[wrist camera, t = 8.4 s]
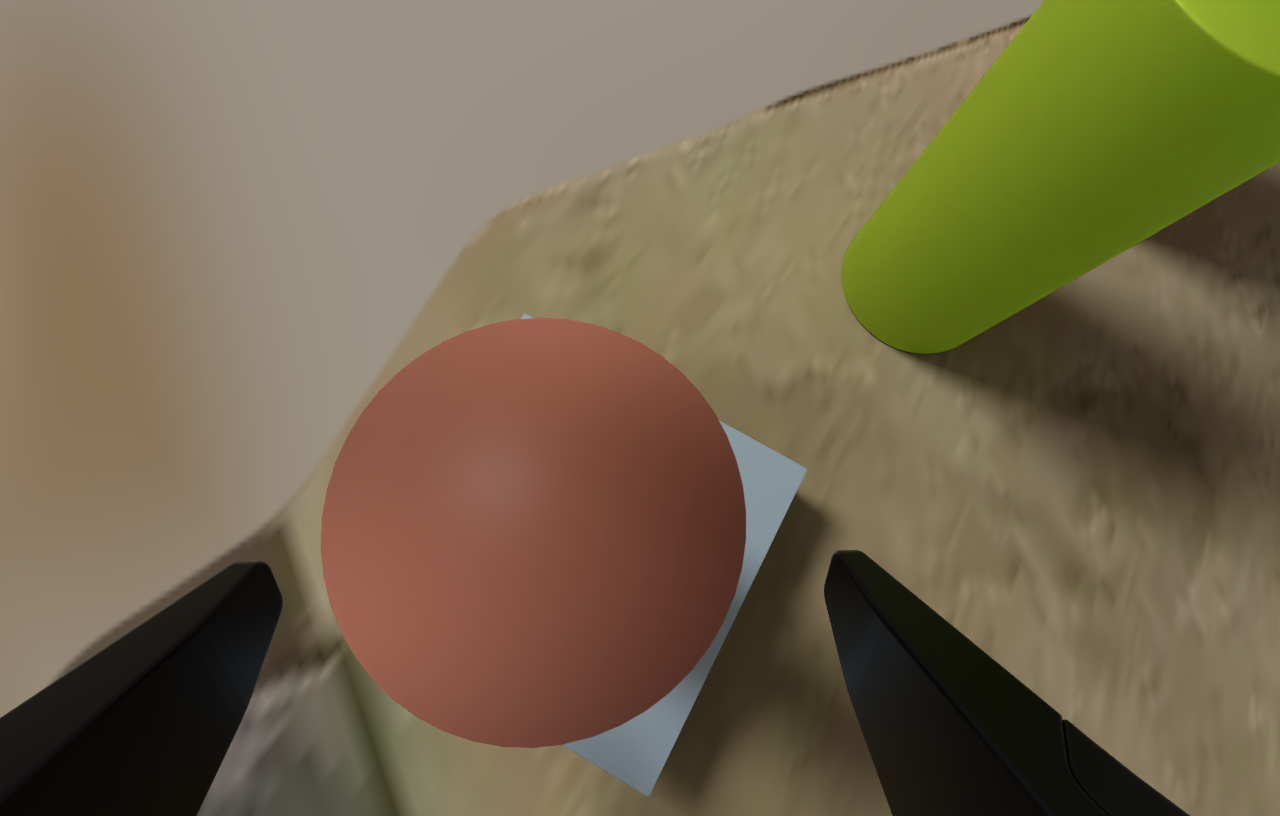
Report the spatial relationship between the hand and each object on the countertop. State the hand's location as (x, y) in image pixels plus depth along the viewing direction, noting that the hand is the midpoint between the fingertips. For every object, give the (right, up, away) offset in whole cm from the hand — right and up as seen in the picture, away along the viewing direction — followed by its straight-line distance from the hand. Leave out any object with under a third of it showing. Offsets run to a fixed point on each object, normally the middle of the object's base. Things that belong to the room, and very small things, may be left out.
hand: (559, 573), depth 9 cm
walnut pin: (-1, -2, +10) cm, 11 cm away
